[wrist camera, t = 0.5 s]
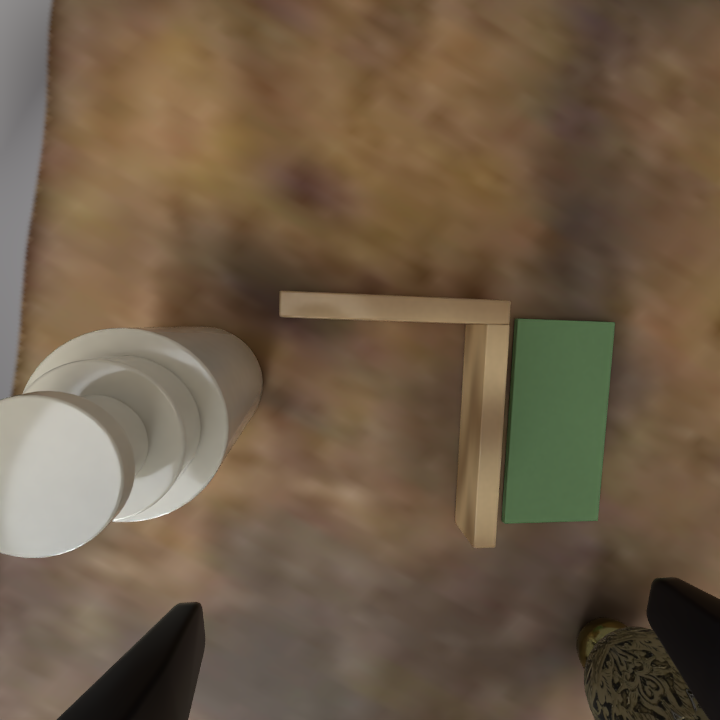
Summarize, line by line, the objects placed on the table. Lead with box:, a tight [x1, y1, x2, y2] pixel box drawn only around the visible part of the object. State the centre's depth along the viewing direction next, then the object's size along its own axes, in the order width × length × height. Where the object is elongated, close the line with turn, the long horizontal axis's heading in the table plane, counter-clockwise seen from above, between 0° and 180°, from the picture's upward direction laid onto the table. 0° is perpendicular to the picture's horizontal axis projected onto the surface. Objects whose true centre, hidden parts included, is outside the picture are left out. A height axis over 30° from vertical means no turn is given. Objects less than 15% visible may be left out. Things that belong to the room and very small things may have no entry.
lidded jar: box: [0, 327, 263, 558], centre depth 14 cm, size 6×6×13 cm
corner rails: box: [279, 291, 511, 548], centre depth 21 cm, size 13×11×3 cm
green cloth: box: [502, 319, 615, 524], centre depth 23 cm, size 12×6×1 cm, turn 178°
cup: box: [577, 617, 709, 720], centre depth 21 cm, size 8×7×8 cm
